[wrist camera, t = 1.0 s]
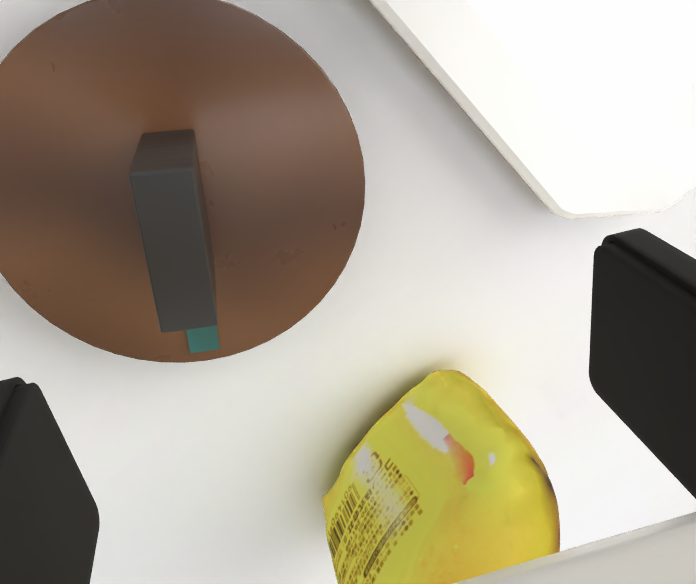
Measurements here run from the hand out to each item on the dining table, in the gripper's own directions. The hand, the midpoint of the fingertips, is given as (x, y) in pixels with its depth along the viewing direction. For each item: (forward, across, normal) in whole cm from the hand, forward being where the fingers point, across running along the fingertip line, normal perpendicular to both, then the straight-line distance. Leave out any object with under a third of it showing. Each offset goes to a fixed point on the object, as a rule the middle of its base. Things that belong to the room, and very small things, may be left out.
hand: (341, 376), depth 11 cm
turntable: (+15, +3, +1) cm, 16 cm away
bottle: (+17, -4, +17) cm, 24 cm away
